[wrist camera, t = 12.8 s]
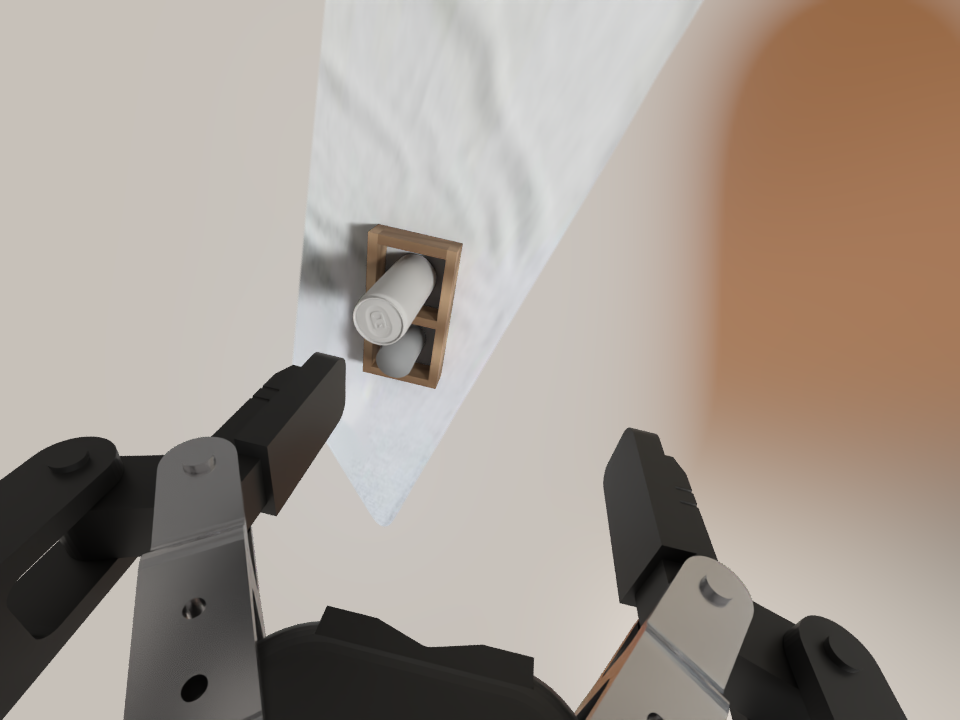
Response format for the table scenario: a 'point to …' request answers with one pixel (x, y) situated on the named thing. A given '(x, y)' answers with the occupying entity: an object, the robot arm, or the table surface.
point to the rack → (426, 315)
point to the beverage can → (394, 300)
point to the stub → (401, 353)
